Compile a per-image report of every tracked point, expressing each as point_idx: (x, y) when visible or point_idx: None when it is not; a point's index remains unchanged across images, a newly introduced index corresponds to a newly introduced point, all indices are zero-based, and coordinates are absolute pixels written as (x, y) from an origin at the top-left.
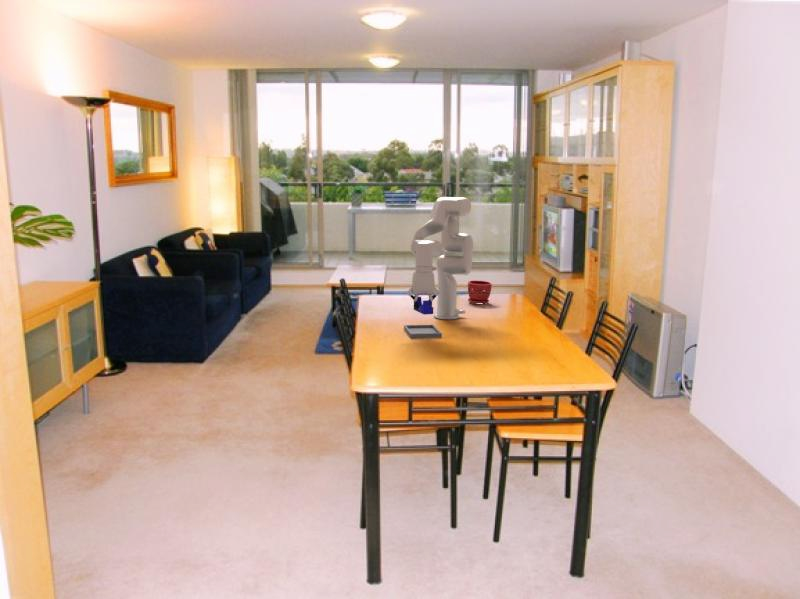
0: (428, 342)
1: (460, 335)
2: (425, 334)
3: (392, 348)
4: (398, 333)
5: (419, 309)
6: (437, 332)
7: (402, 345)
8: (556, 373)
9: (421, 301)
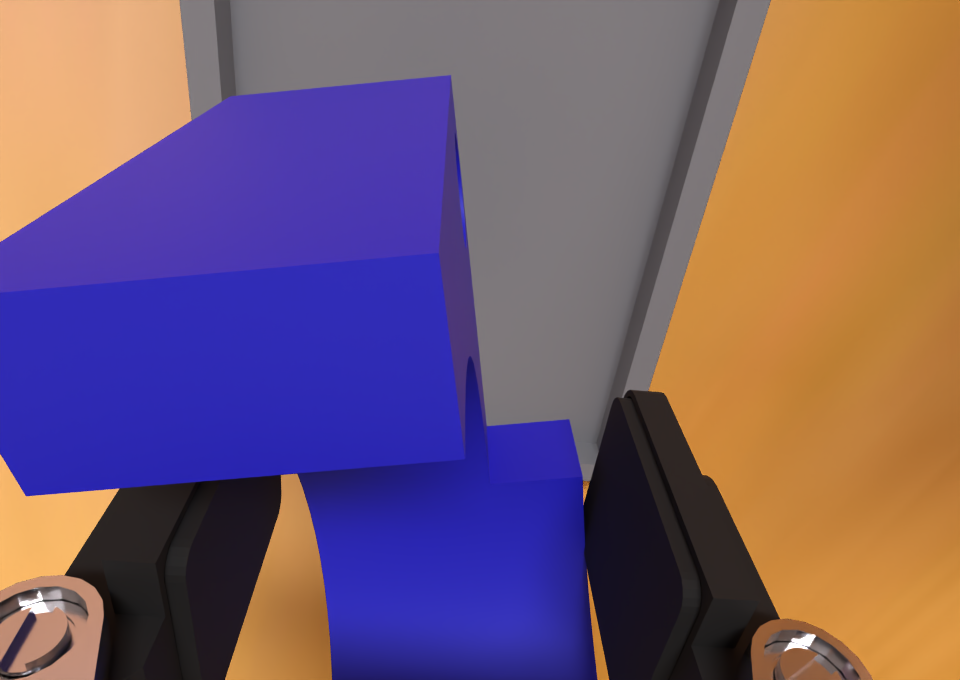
0: None
1: (878, 391)
2: None
3: None
4: (85, 128)
5: (320, 528)
6: (628, 345)
7: None
8: None
9: (466, 355)
